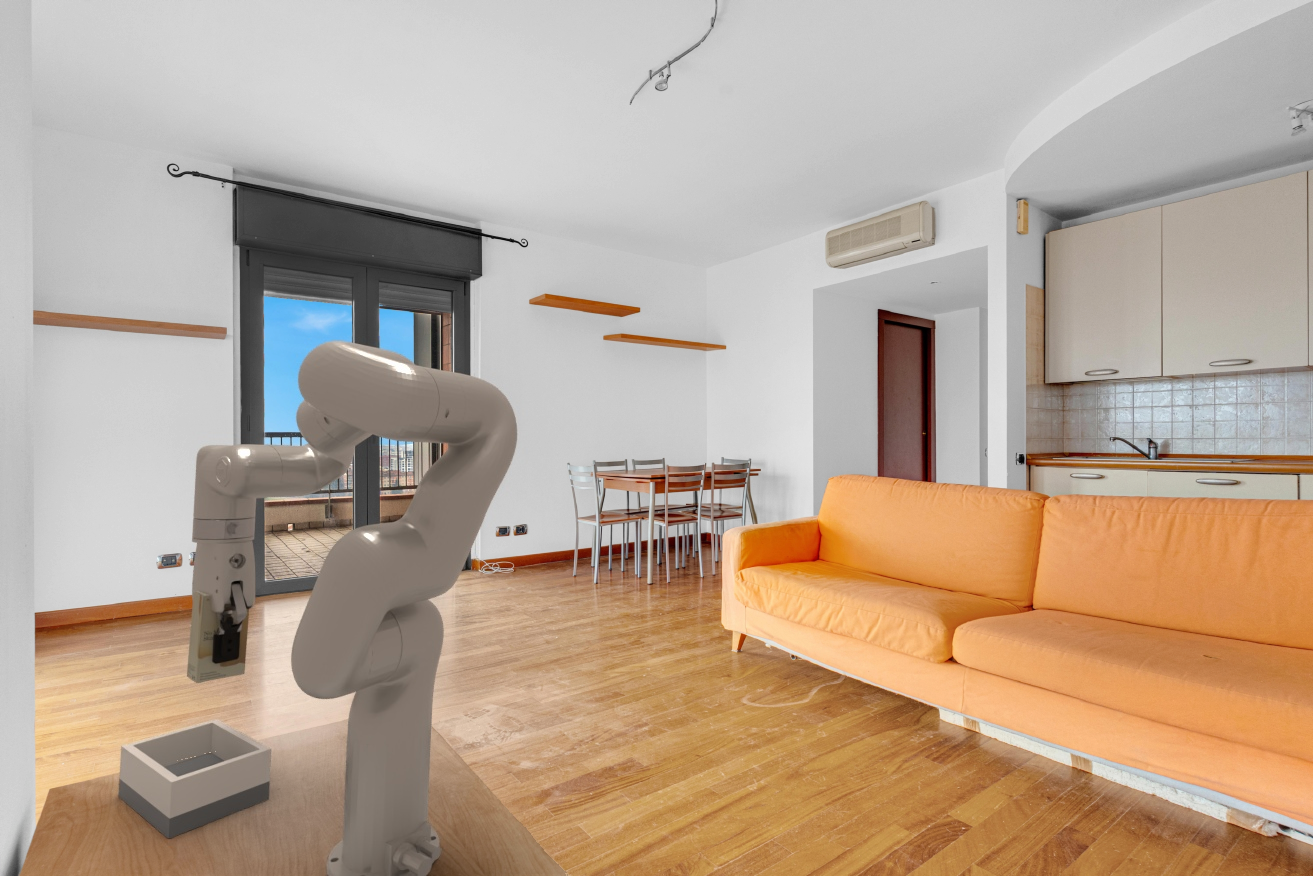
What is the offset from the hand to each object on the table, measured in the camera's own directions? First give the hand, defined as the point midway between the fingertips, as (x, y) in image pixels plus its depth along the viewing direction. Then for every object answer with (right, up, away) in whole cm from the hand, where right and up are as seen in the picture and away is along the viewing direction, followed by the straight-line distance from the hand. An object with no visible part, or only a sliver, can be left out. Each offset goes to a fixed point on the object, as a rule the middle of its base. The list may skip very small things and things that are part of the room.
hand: (217, 656), depth 94 cm
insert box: (-2, -19, -2) cm, 19 cm away
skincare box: (0, -3, 0) cm, 3 cm away
